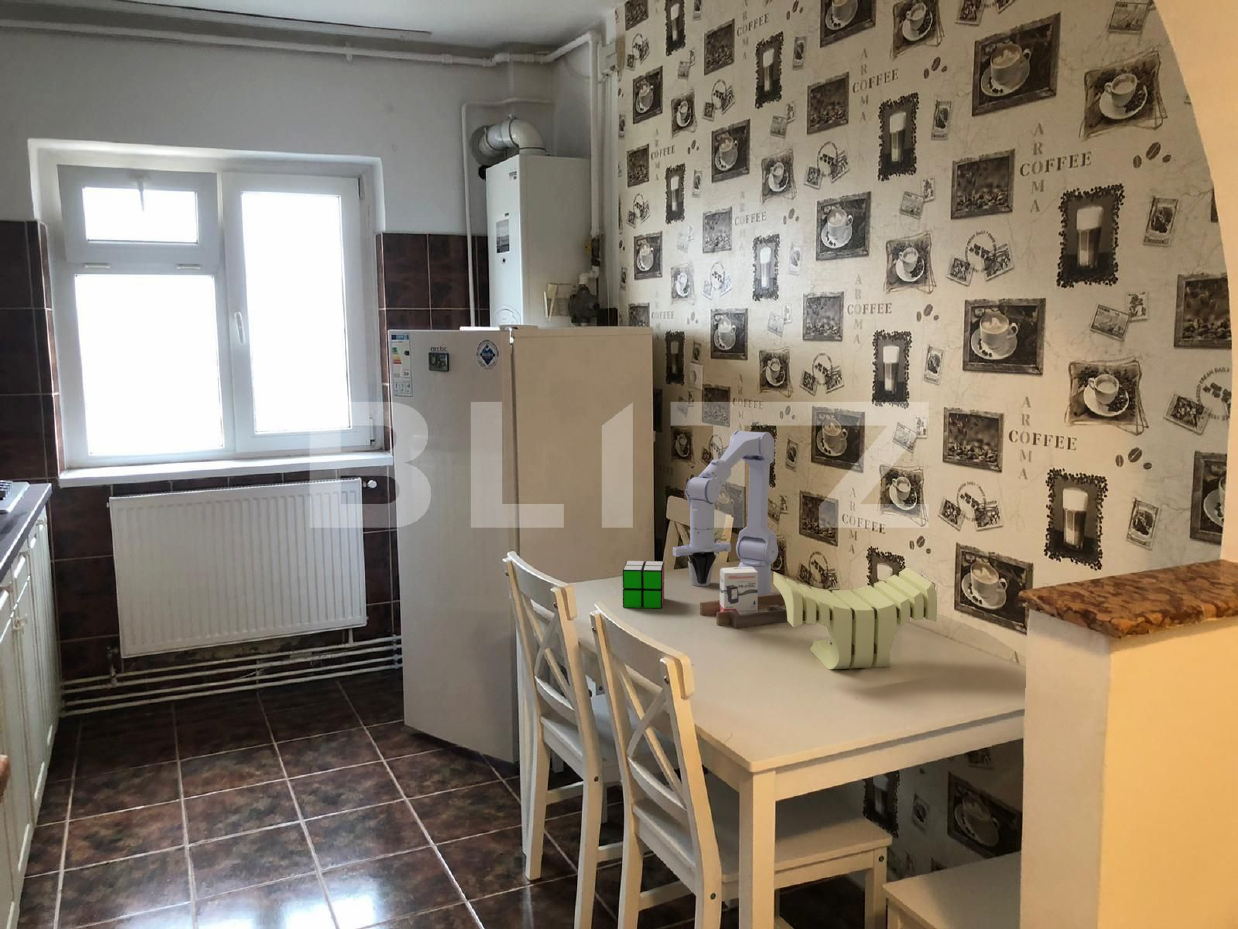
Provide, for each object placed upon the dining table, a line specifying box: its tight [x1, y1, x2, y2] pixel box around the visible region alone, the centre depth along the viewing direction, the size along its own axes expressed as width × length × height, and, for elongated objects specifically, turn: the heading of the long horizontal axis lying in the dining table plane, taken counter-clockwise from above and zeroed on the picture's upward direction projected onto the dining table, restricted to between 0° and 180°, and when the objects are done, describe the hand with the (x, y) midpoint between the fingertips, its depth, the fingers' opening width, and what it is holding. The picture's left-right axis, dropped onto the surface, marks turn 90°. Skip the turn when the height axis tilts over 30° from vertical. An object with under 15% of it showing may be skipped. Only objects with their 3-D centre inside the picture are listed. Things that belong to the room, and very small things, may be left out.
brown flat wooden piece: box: [699, 592, 789, 630], centre depth 242 cm, size 14×31×3 cm, turn 111°
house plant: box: [677, 529, 727, 587], centre depth 271 cm, size 14×14×16 cm
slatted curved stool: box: [773, 567, 938, 670], centre depth 208 cm, size 30×16×18 cm, turn 96°
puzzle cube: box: [622, 560, 665, 610], centre depth 253 cm, size 10×10×10 cm
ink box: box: [719, 566, 759, 615], centre depth 241 cm, size 8×5×12 cm, turn 98°
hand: (701, 583), depth 237 cm, fingers closed
